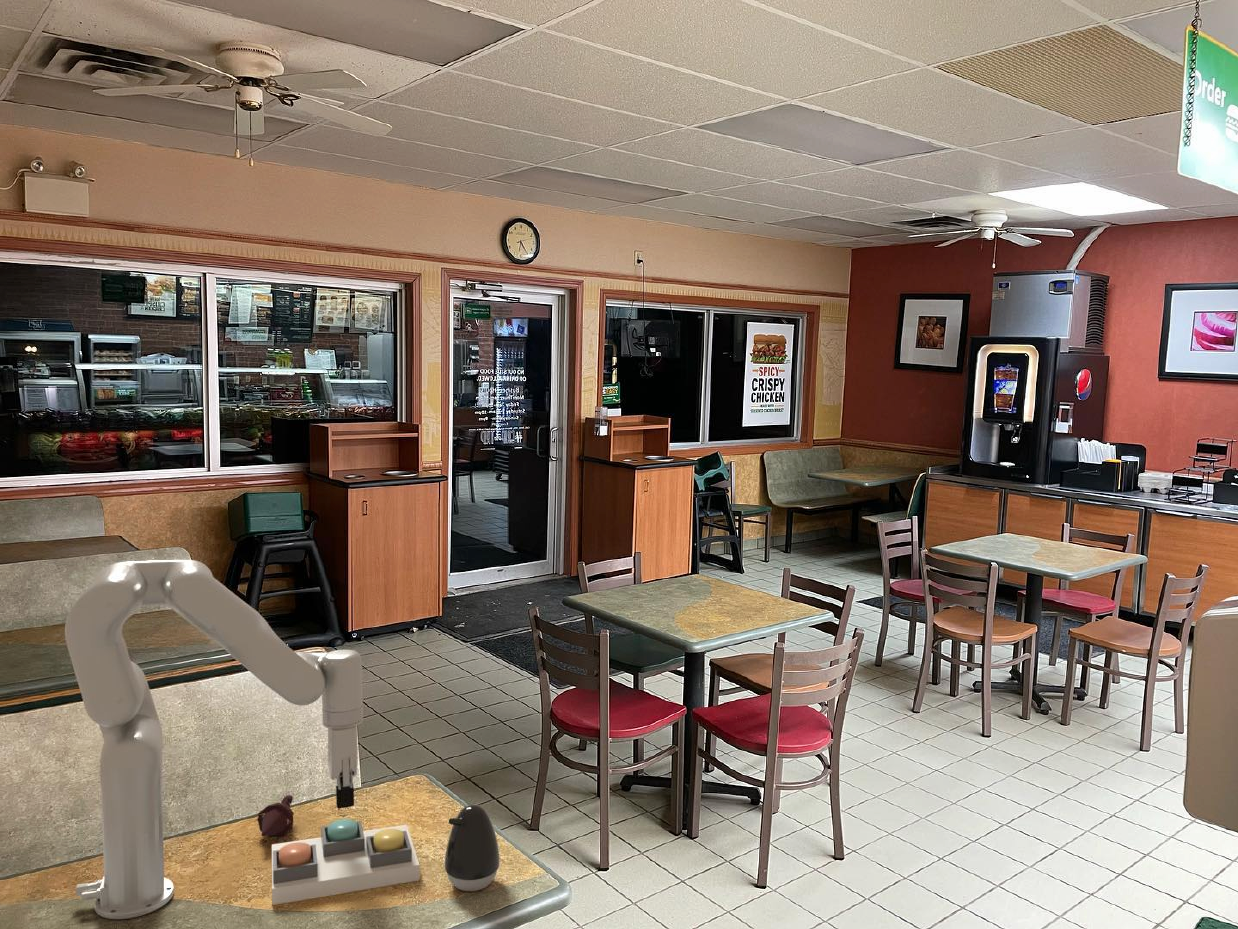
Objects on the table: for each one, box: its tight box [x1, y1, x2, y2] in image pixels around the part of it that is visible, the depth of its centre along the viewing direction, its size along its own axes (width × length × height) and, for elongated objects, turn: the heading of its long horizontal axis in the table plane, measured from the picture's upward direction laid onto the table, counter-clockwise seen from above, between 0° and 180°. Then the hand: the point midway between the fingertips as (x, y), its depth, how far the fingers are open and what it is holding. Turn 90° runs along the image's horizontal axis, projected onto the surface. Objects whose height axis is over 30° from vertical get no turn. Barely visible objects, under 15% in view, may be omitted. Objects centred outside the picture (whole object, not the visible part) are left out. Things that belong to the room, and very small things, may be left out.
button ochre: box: [374, 829, 404, 853], centre depth 176 cm, size 6×6×2 cm
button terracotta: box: [279, 843, 311, 868], centre depth 170 cm, size 6×6×2 cm
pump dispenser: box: [444, 803, 501, 892], centre depth 171 cm, size 10×10×15 cm
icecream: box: [256, 794, 294, 838], centre depth 189 cm, size 7×7×15 cm
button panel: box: [271, 820, 420, 906], centre depth 176 cm, size 26×17×6 cm, turn 111°
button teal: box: [327, 818, 358, 842], centre depth 179 cm, size 6×6×2 cm
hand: (345, 805), depth 179 cm, fingers closed
